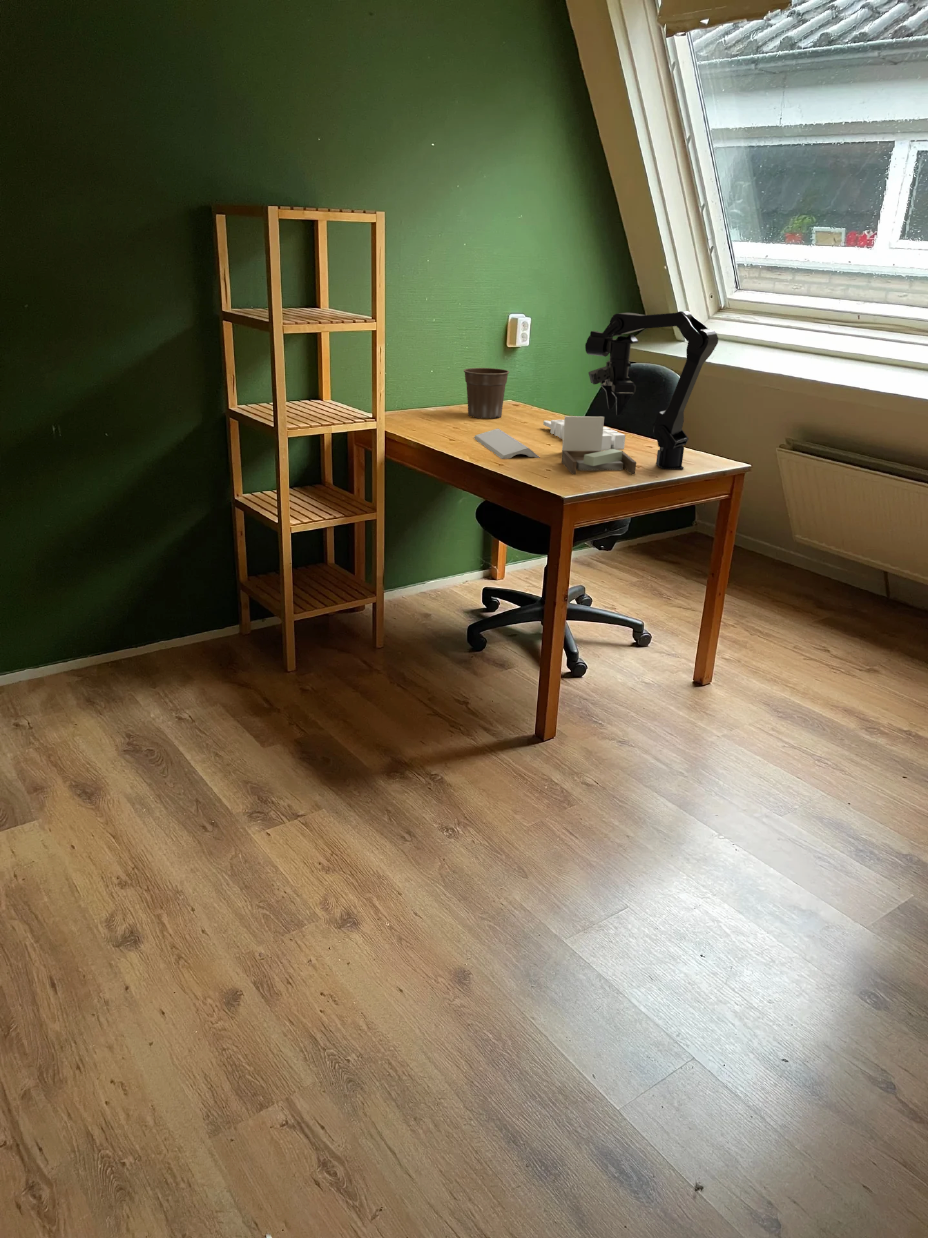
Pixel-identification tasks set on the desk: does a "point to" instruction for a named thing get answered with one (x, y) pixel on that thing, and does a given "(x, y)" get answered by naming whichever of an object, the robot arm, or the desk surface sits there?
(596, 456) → the offcut upper
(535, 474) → the desk surface
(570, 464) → the tray
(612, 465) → the offcut lower
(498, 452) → the crown molding
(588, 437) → the sheet
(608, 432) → the organizer
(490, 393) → the plant pot
